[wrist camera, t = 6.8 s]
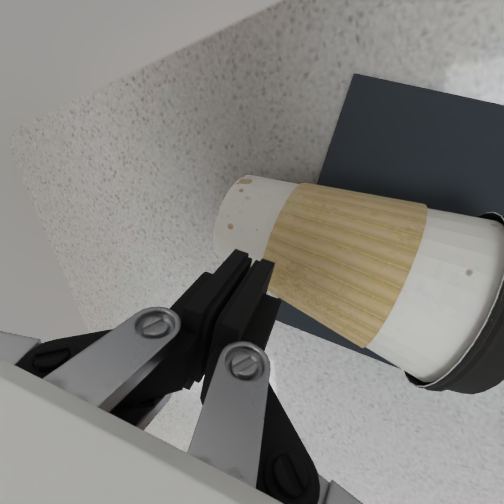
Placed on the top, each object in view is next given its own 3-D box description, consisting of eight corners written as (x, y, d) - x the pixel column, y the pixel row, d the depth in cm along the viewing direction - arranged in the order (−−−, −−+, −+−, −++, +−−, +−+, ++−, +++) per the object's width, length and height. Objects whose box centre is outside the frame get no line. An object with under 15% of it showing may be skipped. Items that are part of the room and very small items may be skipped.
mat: (354, 74, 16) (354, 73, 16) (669, 142, 14) (677, 142, 13) (272, 316, 26) (271, 318, 26) (446, 383, 23) (448, 387, 23)
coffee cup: (248, 264, 25) (424, 341, 20) (180, 305, 16) (462, 458, 11) (281, 154, 22) (499, 216, 17) (216, 130, 13) (633, 244, 8)
